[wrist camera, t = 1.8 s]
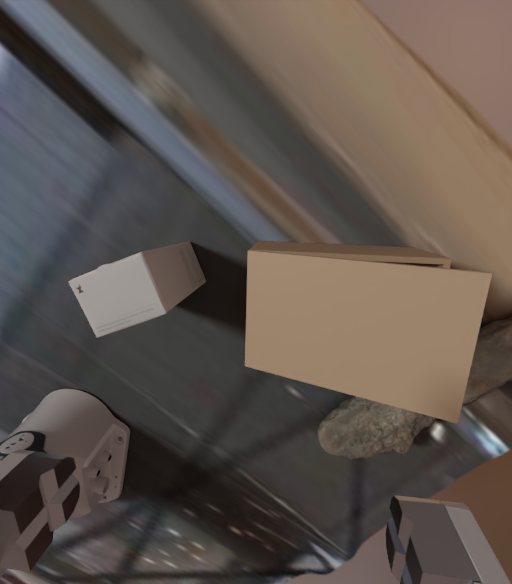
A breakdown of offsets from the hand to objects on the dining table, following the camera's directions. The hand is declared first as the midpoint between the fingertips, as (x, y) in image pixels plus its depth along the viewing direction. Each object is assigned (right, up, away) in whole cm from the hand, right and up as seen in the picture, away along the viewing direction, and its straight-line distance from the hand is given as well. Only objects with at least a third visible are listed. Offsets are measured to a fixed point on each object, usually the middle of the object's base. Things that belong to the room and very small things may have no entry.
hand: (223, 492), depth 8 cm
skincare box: (-11, +8, +37) cm, 39 cm away
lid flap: (+9, +2, +22) cm, 24 cm away
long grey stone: (+25, -8, +37) cm, 46 cm away
